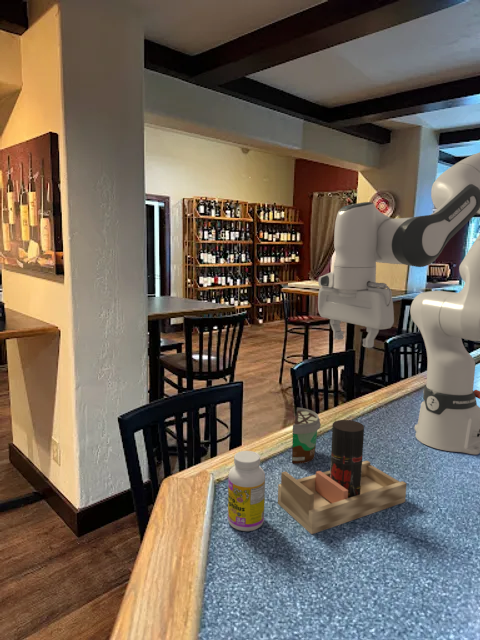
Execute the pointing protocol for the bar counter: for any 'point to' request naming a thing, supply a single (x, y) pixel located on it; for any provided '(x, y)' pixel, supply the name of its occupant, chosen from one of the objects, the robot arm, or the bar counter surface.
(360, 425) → the deodorant
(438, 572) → the bar counter surface
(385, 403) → the bar counter surface
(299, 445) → the food container
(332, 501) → the plate
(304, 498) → the tray
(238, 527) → the supplement bottle
